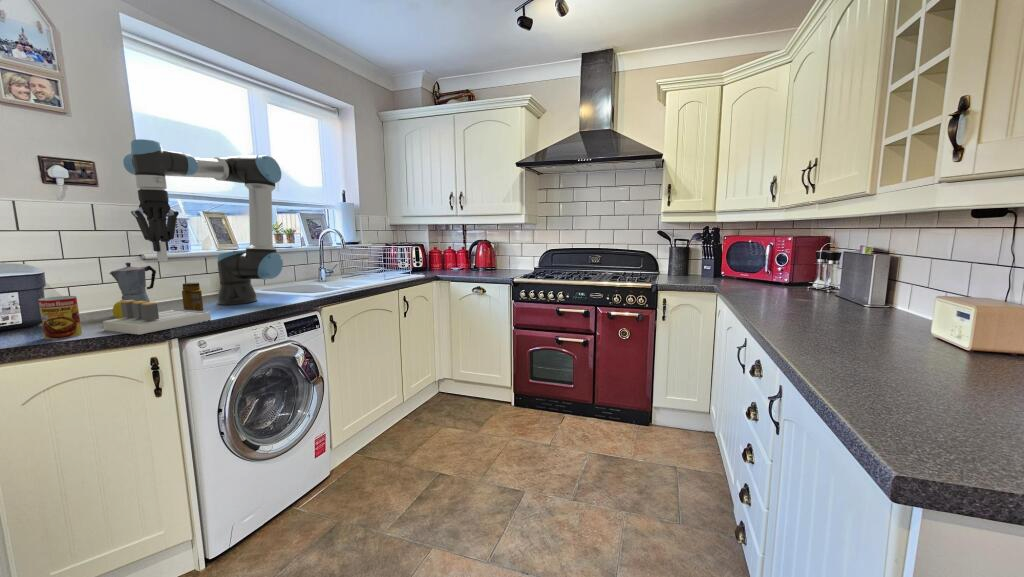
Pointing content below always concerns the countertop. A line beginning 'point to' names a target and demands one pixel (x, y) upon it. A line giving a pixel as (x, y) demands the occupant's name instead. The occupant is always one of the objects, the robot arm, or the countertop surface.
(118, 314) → the lemon
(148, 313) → the grey block
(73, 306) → the canned food
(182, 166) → the robot arm
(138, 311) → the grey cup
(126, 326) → the panel
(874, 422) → the countertop surface
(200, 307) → the condiment
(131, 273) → the moka pot
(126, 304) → the knob far
